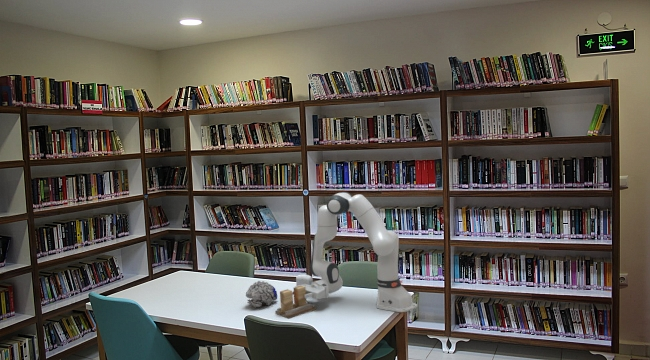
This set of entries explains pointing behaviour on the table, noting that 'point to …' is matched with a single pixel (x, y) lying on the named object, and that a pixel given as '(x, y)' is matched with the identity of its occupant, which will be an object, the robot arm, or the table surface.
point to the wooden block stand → (291, 306)
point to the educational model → (261, 294)
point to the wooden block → (299, 296)
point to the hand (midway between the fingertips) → (298, 294)
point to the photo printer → (304, 280)
